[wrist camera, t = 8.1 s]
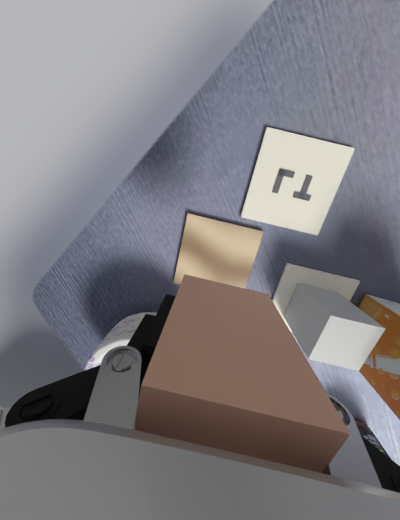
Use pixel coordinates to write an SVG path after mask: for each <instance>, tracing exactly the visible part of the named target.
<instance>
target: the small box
mask: <svg viewBox="0 0 400 520" xmlns="http://www.w3.org/2000/svg"><path fill="white" fill-rule="evenodd" d="M358 308H359V309H360V310H362V311H363V312H364V313H366V314H367V315H368V316H370V317H371V318H372V319H373V320H375V321H376V322H377V323H379V324H380V325H381V326H383V327H384V328H385V331H384V332H383V334H382V335H381V337H380V338H379V340H378V342H377V343H376V345H375V346H374V348H373V349H372V351H371V353H370V354H369V356H368V357H367V359H366V360H365V362H364V363H363V365H362V367H361V368H360V370H359V371H360V373H361V374H362V375H363V376H364V377H365V379H366V380H367V381H368V382H369V383H370V385H371V386H372V387H373V388H374V389H375V391H376V392H377V393H378V394H379V395H380V397H381V398H382V399H383V400H384V401H385V403H386V404H387V405H388V406H389V407H390V409H391V410H392V411H393V412H394V414H395V415H396V416H397V417H398V418H399V420H400V303H397V302H393V301H389V300H386V299H382V298H378V297H375V296H371V295H367V294H365V296H364V297H363V300H362V301H361V303H360V305H359V307H358Z"/></svg>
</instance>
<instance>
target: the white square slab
mask: <svg viewBox="0 0 400 520" xmlns="http://www.w3.org/2000/svg"><path fill="white" fill-rule="evenodd" d="M354 150H355V148H352V147H347V146H343V145H339V144H335V143H331V142H327V141H323V140H319V139H315V138H310V137H306V136H302V135H298V134H294V133H290V132H286V131H282V130H278V129H273V128H269V127H267V128H266V130H265V134H264V137H263V141H262V144H261V148H260V151H259V154H258V158H257V161H256V165H255V168H254V172H253V175H252V179H251V182H250V185H249V189H248V192H247V196H246V199H245V203H244V206H243V210H242V213H241V216H240V217H243V218H247V219H251V220H255V221H259V222H264V223H268V224H272V225H276V226H280V227H284V228H288V229H293V230H297V231H301V232H305V233H309V234H313V235H317V236H318V234H319V231H320V229H321V227H322V224H323V222H324V220H325V217H326V215H327V213H328V210H329V208H330V206H331V203H332V201H333V199H334V196H335V194H336V192H337V189H338V187H339V185H340V182H341V180H342V178H343V175H344V173H345V171H346V168H347V166H348V164H349V161H350V159H351V157H352V154H353V152H354Z"/></svg>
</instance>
